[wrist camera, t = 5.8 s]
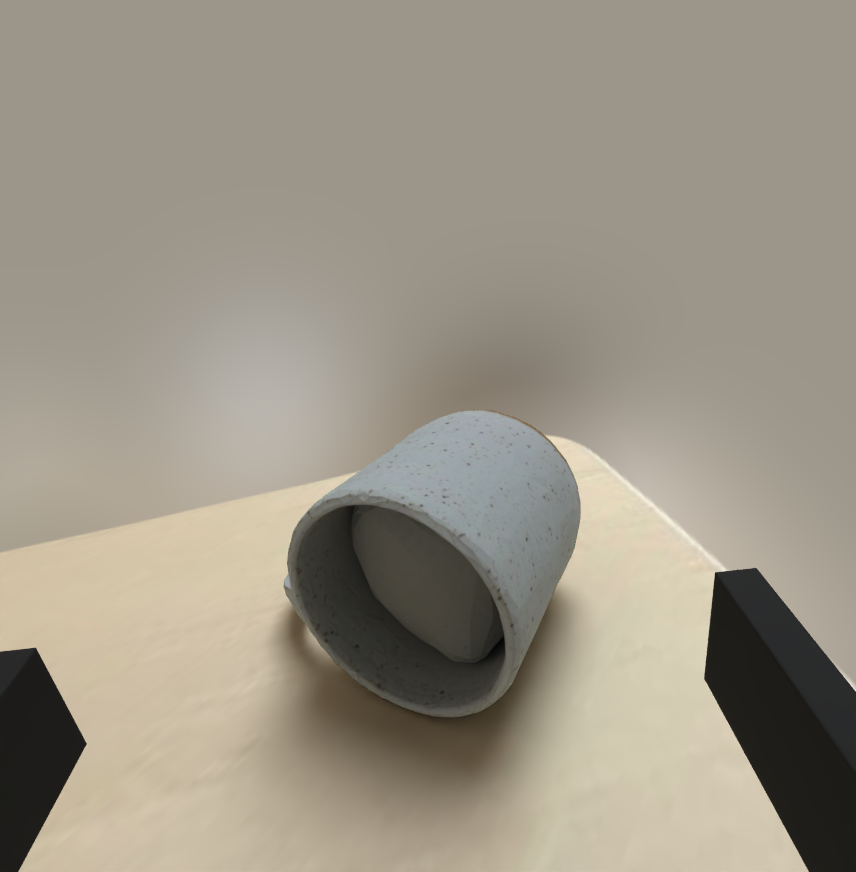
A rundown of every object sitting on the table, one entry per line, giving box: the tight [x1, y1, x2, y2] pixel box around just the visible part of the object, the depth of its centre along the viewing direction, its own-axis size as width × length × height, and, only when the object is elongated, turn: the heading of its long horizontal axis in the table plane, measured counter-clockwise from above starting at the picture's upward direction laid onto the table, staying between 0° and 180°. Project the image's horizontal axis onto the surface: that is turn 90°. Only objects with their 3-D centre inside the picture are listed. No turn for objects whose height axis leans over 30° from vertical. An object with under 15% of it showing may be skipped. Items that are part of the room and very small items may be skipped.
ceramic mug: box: [284, 410, 580, 717], centre depth 21 cm, size 11×8×8 cm
